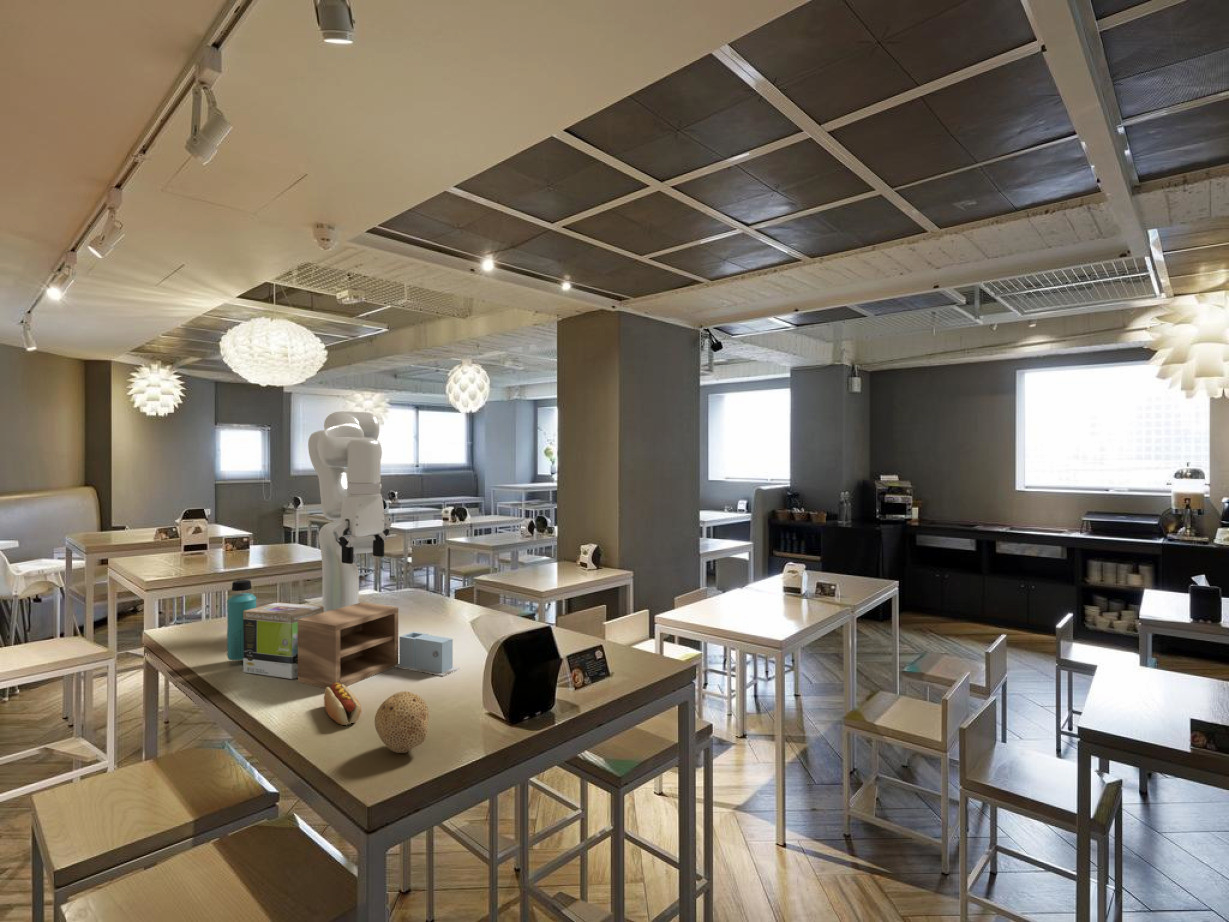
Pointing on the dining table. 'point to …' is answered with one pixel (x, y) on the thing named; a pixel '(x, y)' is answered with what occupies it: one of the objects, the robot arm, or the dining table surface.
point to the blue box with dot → (426, 652)
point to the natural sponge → (402, 721)
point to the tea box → (274, 638)
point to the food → (341, 704)
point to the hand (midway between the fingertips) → (363, 559)
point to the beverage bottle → (237, 618)
